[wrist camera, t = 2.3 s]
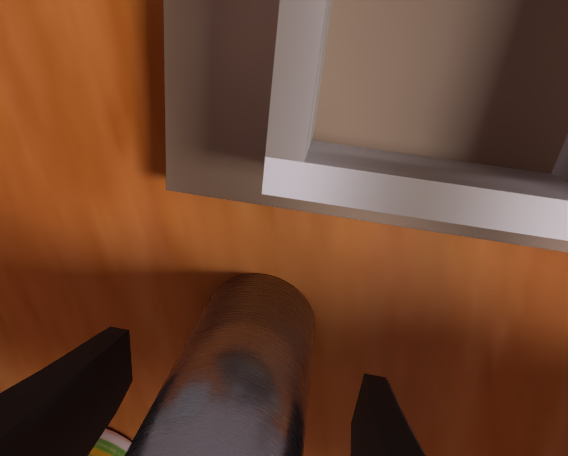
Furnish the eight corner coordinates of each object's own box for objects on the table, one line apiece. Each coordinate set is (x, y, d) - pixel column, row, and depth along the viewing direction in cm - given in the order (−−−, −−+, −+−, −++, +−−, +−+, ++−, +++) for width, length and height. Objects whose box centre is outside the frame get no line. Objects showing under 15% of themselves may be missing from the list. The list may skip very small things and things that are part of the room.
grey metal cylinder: (322, 283, 13) (303, 568, 6) (306, 371, 14) (275, 680, 7) (209, 265, 13) (50, 511, 6) (206, 353, 15) (78, 632, 7)
